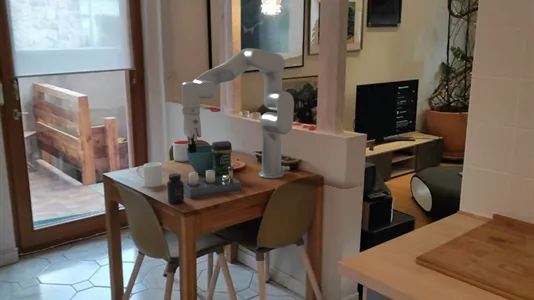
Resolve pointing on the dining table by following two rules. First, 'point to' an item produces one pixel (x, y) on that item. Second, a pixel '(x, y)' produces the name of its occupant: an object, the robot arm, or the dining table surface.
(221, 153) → the coffee jar
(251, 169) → the dining table surface
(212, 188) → the mount
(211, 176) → the knob mid
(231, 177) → the post
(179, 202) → the supplement bottle
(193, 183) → the knob far
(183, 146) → the cup
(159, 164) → the mug
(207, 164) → the teal bowl
